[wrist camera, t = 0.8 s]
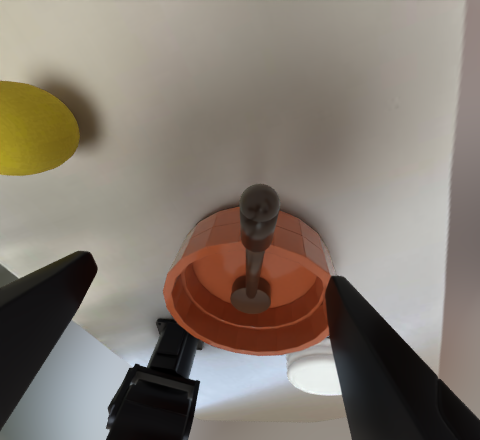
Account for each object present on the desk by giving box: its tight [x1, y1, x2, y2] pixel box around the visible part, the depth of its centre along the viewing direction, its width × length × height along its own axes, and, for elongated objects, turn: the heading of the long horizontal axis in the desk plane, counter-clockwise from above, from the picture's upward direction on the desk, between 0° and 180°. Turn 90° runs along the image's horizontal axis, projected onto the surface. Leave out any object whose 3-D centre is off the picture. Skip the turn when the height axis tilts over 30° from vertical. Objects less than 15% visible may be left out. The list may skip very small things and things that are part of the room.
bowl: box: [163, 207, 336, 356], centre depth 23 cm, size 16×16×6 cm
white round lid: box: [286, 338, 342, 395], centre depth 32 cm, size 10×10×4 cm
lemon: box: [0, 81, 80, 176], centre depth 15 cm, size 6×6×8 cm
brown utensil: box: [230, 184, 280, 314], centre depth 18 cm, size 19×4×10 cm, turn 178°
